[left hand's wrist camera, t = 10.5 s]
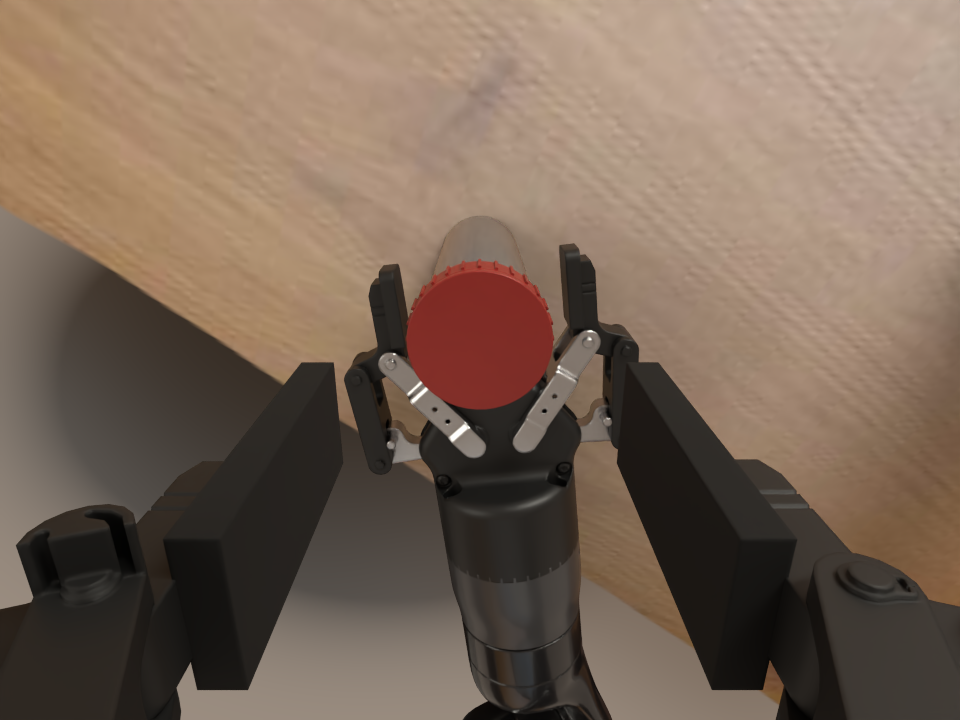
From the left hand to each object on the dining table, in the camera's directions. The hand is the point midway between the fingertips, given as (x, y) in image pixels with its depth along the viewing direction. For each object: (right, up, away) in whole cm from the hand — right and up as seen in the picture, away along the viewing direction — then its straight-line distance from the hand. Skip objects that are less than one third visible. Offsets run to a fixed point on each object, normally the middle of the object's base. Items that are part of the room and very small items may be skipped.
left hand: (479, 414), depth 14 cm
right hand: (0, +6, +13) cm, 15 cm away
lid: (0, +2, +5) cm, 6 cm away
